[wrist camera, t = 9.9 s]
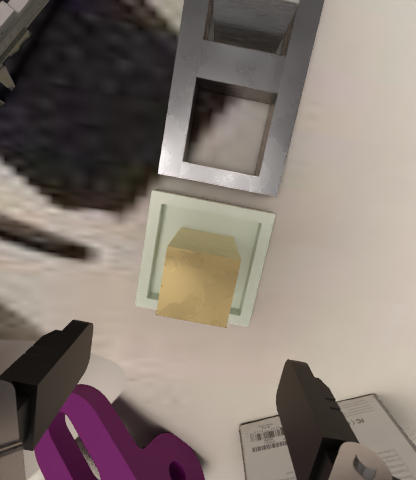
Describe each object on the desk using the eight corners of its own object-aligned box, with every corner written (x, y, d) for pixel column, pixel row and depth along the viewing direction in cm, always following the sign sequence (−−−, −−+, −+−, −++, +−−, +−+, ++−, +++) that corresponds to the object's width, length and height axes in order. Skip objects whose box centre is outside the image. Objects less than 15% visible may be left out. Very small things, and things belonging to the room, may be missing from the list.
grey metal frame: (199, -54, 22) (197, -89, 19) (322, -28, 23) (338, -59, 20) (164, 174, 26) (158, 173, 23) (269, 195, 26) (276, 196, 23)
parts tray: (156, 189, 26) (152, 190, 24) (271, 212, 27) (275, 214, 25) (140, 297, 29) (134, 305, 27) (246, 317, 29) (248, 327, 27)
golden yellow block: (181, 227, 26) (167, 246, 19) (233, 237, 26) (241, 260, 19) (172, 276, 27) (155, 314, 20) (222, 286, 27) (226, 327, 20)
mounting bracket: (80, 396, 38) (160, 530, 32) (20, 428, 30) (111, 614, 24) (123, 350, 37) (215, 483, 31) (72, 372, 29) (182, 556, 23)
